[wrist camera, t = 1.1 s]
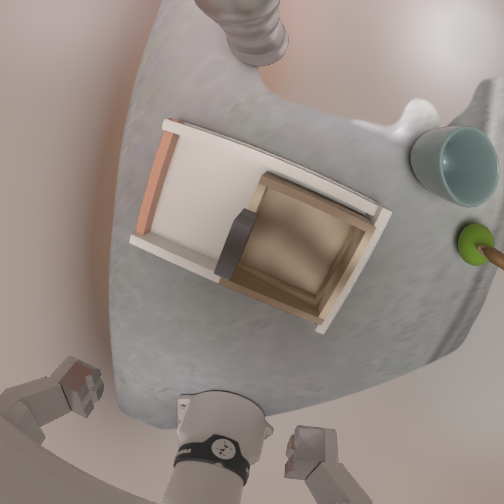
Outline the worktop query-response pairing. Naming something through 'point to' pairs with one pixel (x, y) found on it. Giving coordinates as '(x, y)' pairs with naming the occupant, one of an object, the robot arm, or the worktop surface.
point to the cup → (456, 164)
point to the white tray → (224, 199)
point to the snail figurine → (479, 246)
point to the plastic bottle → (250, 28)
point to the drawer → (293, 248)
